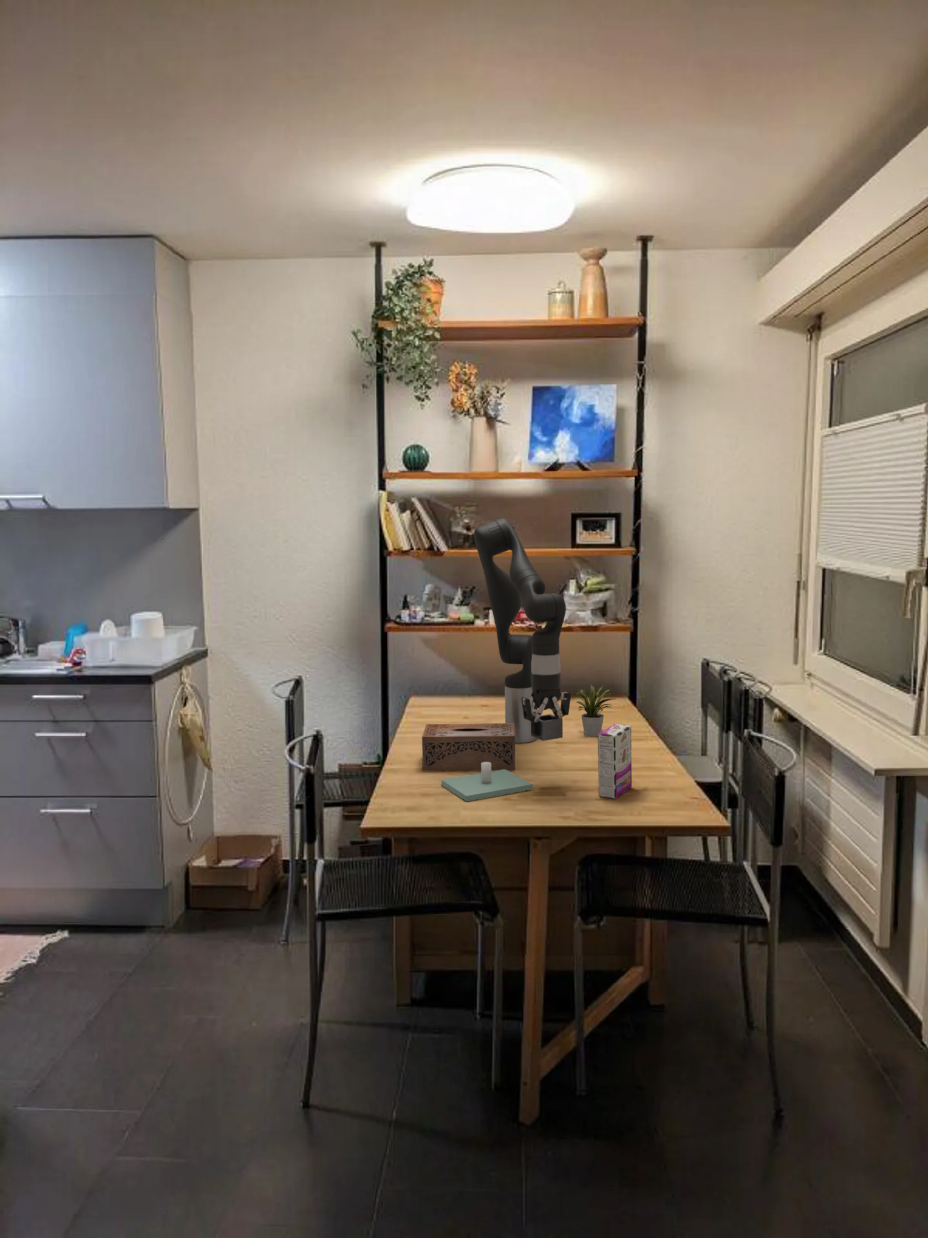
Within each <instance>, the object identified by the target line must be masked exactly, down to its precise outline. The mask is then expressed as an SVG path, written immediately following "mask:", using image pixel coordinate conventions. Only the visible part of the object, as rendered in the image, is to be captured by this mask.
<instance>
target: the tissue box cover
mask: <svg viewBox="0 0 928 1238" xmlns="http://www.w3.org/2000/svg"><path fill="white" fill-rule="evenodd" d="M421 747H422V750H421V753H422V771H423V770H457V771H481V763H482V762H490V763H491V771H497V770H503V769H505V770H507V771H516V743H515V729H514V723H505V722H504V723H503V722H502V723H501V722H499V723H498V722H497V723H496V722H495V723H489V722H487V723H425V727H424V731H423V733H422V735H421Z"/></svg>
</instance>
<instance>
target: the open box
mask: <svg viewBox="0 0 928 1238" xmlns="http://www.w3.org/2000/svg"><path fill="white" fill-rule="evenodd" d="M538 722H539V736H534V735H533V733H532V732H531V736H533V737H535V738H538V739H537V740H540V741H542V742H545V741H552V740H557V739H562V738H563V734H564V731H563V726H564V725H563V723H564V722H563V718H562V719H561V718H559V717H556V716H554V714H551V713H548V714H541V715H540V718H539V720H538Z"/></svg>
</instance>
